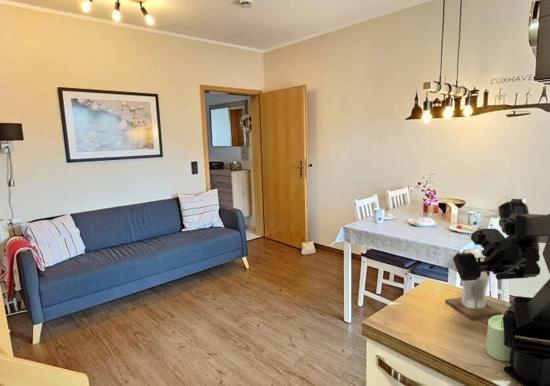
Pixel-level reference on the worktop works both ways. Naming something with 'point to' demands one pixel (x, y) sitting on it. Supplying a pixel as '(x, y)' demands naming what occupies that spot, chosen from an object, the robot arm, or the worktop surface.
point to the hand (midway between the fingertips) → (479, 278)
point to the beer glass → (475, 286)
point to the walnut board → (472, 314)
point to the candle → (497, 339)
